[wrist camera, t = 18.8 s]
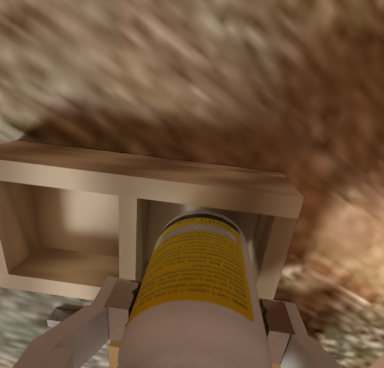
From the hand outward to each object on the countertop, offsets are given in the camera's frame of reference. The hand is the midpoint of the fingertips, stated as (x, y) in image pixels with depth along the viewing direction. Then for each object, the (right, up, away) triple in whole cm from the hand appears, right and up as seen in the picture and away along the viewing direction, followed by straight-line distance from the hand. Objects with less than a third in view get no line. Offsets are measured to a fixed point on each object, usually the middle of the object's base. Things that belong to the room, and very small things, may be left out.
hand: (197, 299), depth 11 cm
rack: (-4, +3, +7) cm, 8 cm away
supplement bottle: (0, +1, +4) cm, 4 cm away
